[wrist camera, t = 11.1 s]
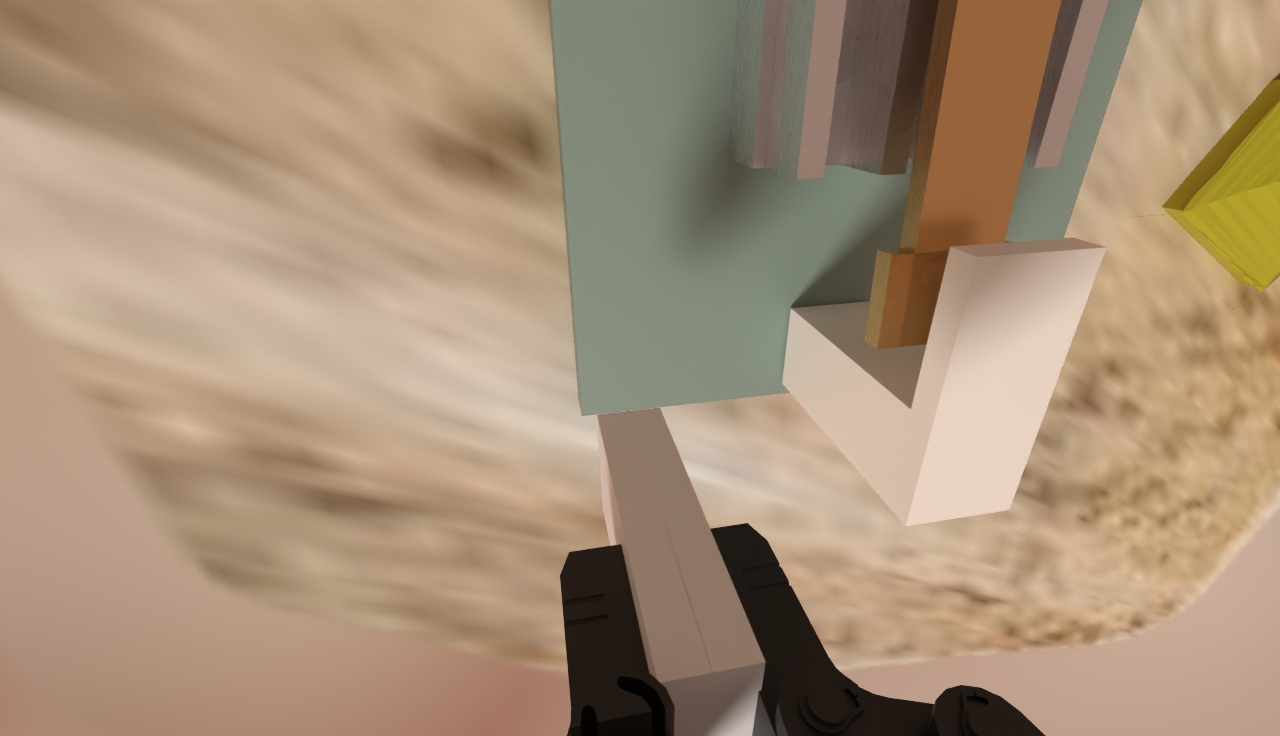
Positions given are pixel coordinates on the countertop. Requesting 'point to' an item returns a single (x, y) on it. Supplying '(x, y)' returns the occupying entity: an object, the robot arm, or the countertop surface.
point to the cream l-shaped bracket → (948, 377)
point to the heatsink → (870, 83)
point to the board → (726, 206)
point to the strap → (962, 153)
